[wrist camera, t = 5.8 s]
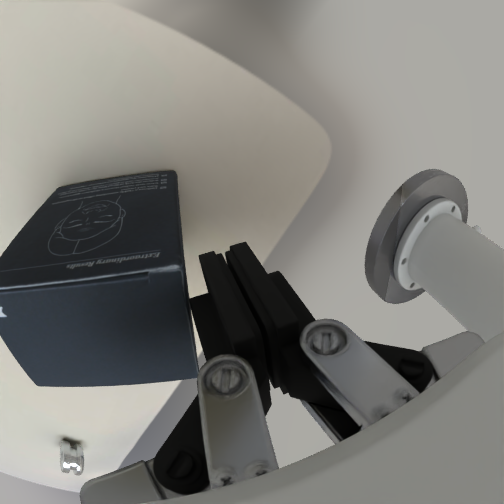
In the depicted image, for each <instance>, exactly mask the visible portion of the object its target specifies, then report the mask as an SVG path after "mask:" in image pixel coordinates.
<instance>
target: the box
mask: <svg viewBox="0 0 504 504" xmlns="http://www.w3.org/2000/svg"><path fill="white" fill-rule="evenodd" d="M188 299H189V293H188V285H187V276H186V268H185V260H184V250H183V240H182V228H181V217H180V207H179V195H178V182H177V174H176V172H175V171H163V172H154V173H146V174H137V175H130V176H123V177H116V178H109V179H103V180H96V181H91V182H85V183H80V184H74V185H69V186H64V187H59V188H58V189H56V191H55V192H54V193H53V194H52V195H51V196H50V197H49V198H48V199H47V200H46V201H45V203H44V204H43V205H42V206H41V207H40V208H39V209H38V210H37V212H36V213H35V214H34V215H33V216H32V217H31V219H30V220H29V221H28V222H27V223H26V225H25V226H24V227H23V228H22V229H21V231H20V232H19V233H18V234H17V236H16V237H15V238H14V239H13V240H12V242H11V243H10V245H9V246H8V247H7V249H6V250H5V251H4V252H3V254H2V256H1V257H0V336H1V337H2V339H3V341H4V342H5V344H6V345H7V347H8V349H9V350H10V351H11V353H12V354H13V356H14V357H15V359H16V360H17V362H18V363H19V364H20V366H21V367H22V368H23V370H24V371H25V372H26V373H27V375H28V376H29V377H30V378H31V379H32V381H33V382H34V383H35V384H36V385H37V386H49V387H93V386H117V385H134V384H146V383H156V382H167V381H176V380H184V379H191V378H197V376H198V373H199V367H198V360H197V353H196V345H195V337H194V330H193V323H192V316H191V307H190V304H189V300H188Z"/></svg>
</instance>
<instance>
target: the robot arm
mask: <svg viewBox="0 0 504 504" xmlns="http://www.w3.org/2000/svg"><path fill="white" fill-rule="evenodd" d="M225 256H226V261H227V263H226V261H225V259H224V257H223V255H222V254H221V253H220V254H215V252H214V251H212V252H208V253H205V254H201V255H199V260H200V264H201V267H202V271H203V275H204V278H205V282H206V286H207V289H208V293H206V294H203V295H199V296H196V297H193V298H190V299H188V300H189V304H190V307H191V311H192V314H193V318H194V322H195V325H196V328H197V332H198V335H199V339H200V342H201V345H202V349H203V352H204V355H205V358H206V361H207V362H206V363H205V364H204V365H203V366H202V367H201V368H200V370H199V373H198V376H197V387H198V394H197V396H196V397H195V399H194V400H193V402H192V403H191V405H190V406H189V408H188V409H187V411H186V412H185V414H184V415H183V417H182V418H181V419H180V421H179V422H178V424H177V425H176V427H175V428H174V430H173V431H172V433H171V434H170V435H169V437H168V439H167V440H166V441H165V443H164V444H163V446H162V447H161V448H160V450H159V451H158V453H157V454H156V456H155V458H153V459H151V460H148V461H146V462H145V461H143V460H141V461H139V462H137V463H134V464H132V465H129V466H127V467H124V468H122V469H119V470H116V471H114V472H111V473H108V474H106V475H103V476H100V477H97V478H94V479H91V480H89V481H88V482H86V483H85V484H84V485H83V487H82V488H81V491H80V500H81V504H504V250H503V249H502V248H501V247H499V246H498V245H497V244H495V243H494V242H492V241H491V240H489V239H488V238H486V237H485V236H484V235H482V234H481V228H480V227H479V226H474V227H472V228H471V227H470V226H468V225H467V224H465V223H464V222H462V216H461V212H460V209H459V207H458V206H457V204H456V203H454V202H453V201H451V200H449V199H447V198H439V199H435V200H433V201H431V202H430V203H428V204H427V205H425V206H424V207H423V208H422V209H421V210H420V211H419V212H418V213H417V214H416V215H415V216H414V218H413V219H412V221H411V222H410V223H409V225H408V226H407V228H406V230H405V232H404V233H403V235H402V238H401V240H400V242H399V244H398V247H397V250H396V254H395V259H394V276H395V278H396V281H397V282H398V283H399V284H400V285H401V286H402V287H403V288H405V289H407V290H416V289H419V288H423V289H424V290H425V291H426V292H428V293H429V294H430V295H431V296H432V297H433V298H434V299H435V300H436V301H437V302H438V303H440V304H441V305H442V306H443V307H444V308H445V309H446V310H447V311H448V312H449V313H450V314H451V315H452V316H453V317H454V318H455V319H456V320H457V321H458V322H459V323H461V324H462V325H463V326H464V327H465V328H466V329H467V330H468V331H466V332H462V333H460V334H457V335H455V336H452V337H450V338H448V339H445V340H442V341H439V342H437V343H434V344H431V345H428V346H426V347H423V349H422V351H415V350H411V349H406V348H400V347H394V346H389V345H383V344H377V343H372V342H367V341H363V340H362V339H360V338H359V337H358V336H357V335H356V334H355V333H354V332H353V331H352V330H351V329H350V328H348V327H347V326H346V325H345V324H343V323H342V322H339V321H337V320H334V319H320V320H315V318H314V317H313V316H312V314H311V313H310V312H309V310H308V309H307V308H306V306H305V305H304V303H303V302H302V301H301V299H300V298H299V297H298V295H297V294H296V293H295V291H294V290H293V289H292V287H291V286H290V285H289V283H288V282H287V280H286V279H285V278H284V276H283V275H282V274H281V273H280V272H279V271H276V272H273V273H269V274H267V273H266V271H265V269H264V268H263V266H262V265H261V263H260V262H259V260H258V259H257V257H256V256H255V254H254V253H253V252H252V250H251V249H250V247H249V246H248V244H247V243H246V242H242V243H239V244H235V245H232V246H230V251H226V252H225ZM269 380H270V382H271V384H272V385H273V387H274V388H278V387H280V388H281V390H282V392H283V394H286V393H289V395H290V397H293V398H297V399H300V401H301V402H302V404H303V406H304V407H305V408H306V409H307V411H308V412H309V413H310V414H311V416H312V417H313V418H314V419H315V421H316V422H317V423H318V424H319V425H320V426H321V428H322V429H323V430H324V431H325V433H326V434H327V435H328V436H329V437H330V439H331V440H332V441H333V442H334V443H335V445H333V446H331V447H329V448H327V449H325V450H323V451H320V452H318V453H316V454H314V455H311V456H309V457H307V458H305V459H302V460H300V461H297V462H295V463H293V464H290V465H287V466H285V467H282V468H280V469H279V467H278V464H277V460H276V456H275V452H274V449H273V445H272V442H271V438H270V434H269V430H268V426H267V422H266V418H265V416H266V415H267V412H268V411H269V408H270V407H271V404H272V403H271V396H270V383H269Z"/></svg>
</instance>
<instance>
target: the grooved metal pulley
mask: <svg viewBox="0 0 504 504" xmlns="http://www.w3.org/2000/svg"><path fill="white" fill-rule="evenodd" d="M60 467H61V471H62V472H65V473H69V471H70V469H71V470H73V472H74V474H75V475H81V474H82V472H83V468H84V453H83V449H82V447H81V446H80V445H79V444H76V443H75V444H74V447H70V443H69V442H68V441H64V440H62V442H61V448H60Z"/></svg>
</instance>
